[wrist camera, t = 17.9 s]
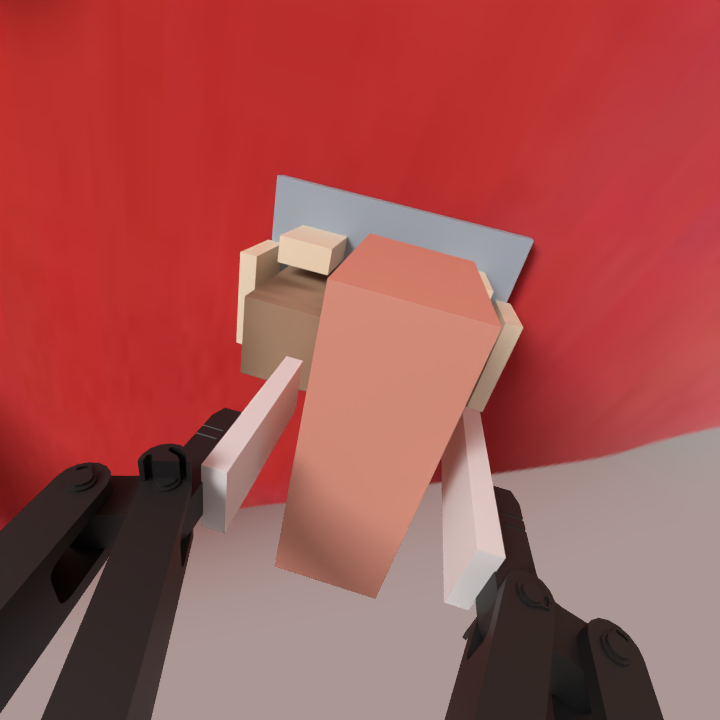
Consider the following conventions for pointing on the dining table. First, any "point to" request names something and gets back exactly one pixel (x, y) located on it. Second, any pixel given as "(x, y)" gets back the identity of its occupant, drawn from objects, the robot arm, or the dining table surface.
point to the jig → (394, 221)
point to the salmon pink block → (381, 406)
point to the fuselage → (284, 322)
